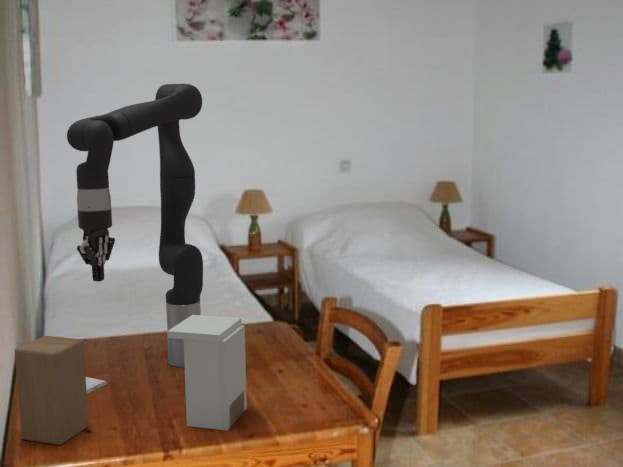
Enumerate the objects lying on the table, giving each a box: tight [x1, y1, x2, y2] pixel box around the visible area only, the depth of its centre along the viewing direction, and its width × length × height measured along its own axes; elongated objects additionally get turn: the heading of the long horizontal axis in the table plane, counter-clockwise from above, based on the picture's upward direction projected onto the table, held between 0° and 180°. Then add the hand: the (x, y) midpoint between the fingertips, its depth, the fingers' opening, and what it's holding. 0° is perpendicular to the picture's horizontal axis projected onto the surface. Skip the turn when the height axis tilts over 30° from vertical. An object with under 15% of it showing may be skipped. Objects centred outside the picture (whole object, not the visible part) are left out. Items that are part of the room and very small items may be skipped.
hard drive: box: [86, 376, 108, 395], centre depth 180 cm, size 2×8×12 cm
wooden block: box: [14, 335, 90, 446], centre depth 152 cm, size 10×10×20 cm
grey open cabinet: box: [166, 314, 248, 431], centre depth 159 cm, size 13×13×22 cm
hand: (98, 280), depth 168 cm, fingers closed
